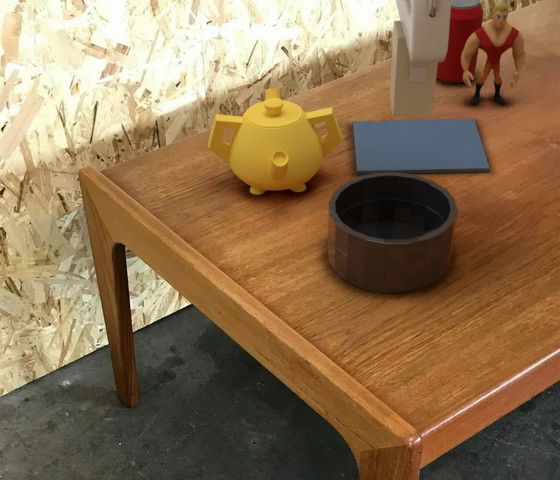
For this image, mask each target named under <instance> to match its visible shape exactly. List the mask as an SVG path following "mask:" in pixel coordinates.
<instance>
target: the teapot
mask: <svg viewBox="0 0 560 480" xmlns="http://www.w3.org/2000/svg"><path fill="white" fill-rule="evenodd" d="M320 123H325V127H326V131H327V133H326V134H325V135H323V136H322V137H320V133H319V132H318V130H317V128H316V126H315V125H318V124H320ZM225 129H231V130H233V133H232V135H231V139H230V142H229V143H228V142H227V141H225V140H224V139H223V137H224V133H225ZM342 143H343V134H342V131H341V129H340V126H339V123H338V120H337V117H336V114H335V111H334V109H333V107H327V108H322V109H318V110H312V111H307V112H306V111H304V109H302V107H301V106H300V105H299V104H297V103H294V102H292V101H287V100H283V99H282V98H281V89H279V88H274V87H271V88H266V89H264V100H263V101H260V102H257V103H255V104H252V105H251V106H250V107H248V108H247V110H246V111H245V112H244V113H243V115H242V116H240V115H229V114H228V115H227V114H217V113H216V114H214V118H213V122H212V126H211V130H210V134H209V138H208V142H207V147H208V151H210V152H211V153H213V154H214V155H216V156H217V157H218V158H220V159H222V160H223V161H224V162H226V163H227V164H228V165H229V167H230V169H231V171H232V173H233V174H234V175H235V176H236V177H237V178H238V179H240V180H241V181H242V182H244V184H246V185H248V186H250V188H249V192H250V193H251V194H253V195H256V196H257V195H262V194H265V193H266V192H267V191H284V190H290V191H291V192H294V193H301V192H304V191H306V189H307V185H306V184H305V183H307V182H308V181H310V179H312V177H313V176H315V175H316V174H317V173H318V172H319V170H320V169H321V168H322V165H323V162H324V159H325V157H327V156H328V155H329V154H330V153H331V152H332V151H333V150H334V149H335V148H337V147H338V146H340V145H341V144H342Z"/></svg>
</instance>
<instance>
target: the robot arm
mask: <svg viewBox="0 0 560 480" xmlns="http://www.w3.org/2000/svg"><path fill="white" fill-rule="evenodd" d="M395 4H396V7H397V11H398V15H399V21H401V24H402V29H403V33H404V37H405V41H406V45H407V49H408V53H409V58H410V62H409V79H410V82H412V83H423V82H424V81H425V80H426V76H427V67H428V64H429V63H439V62H443V61H444V59H445V57H446V54H447V49H448V38H449V25H450V11H451V0H395Z"/></svg>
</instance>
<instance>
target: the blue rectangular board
mask: <svg viewBox="0 0 560 480" xmlns="http://www.w3.org/2000/svg"><path fill="white" fill-rule="evenodd" d="M352 133H353V144H354V156H355V158H354V159H355V169H356V175H369V174H374V173H391V172H399V173H406V174H449V173H450V174H451V173H490V165H489V162H488V158H487V155H486V153H485V149H484V146H483V143H482V140H481V136H480V133H479V130H478V127H477V123H476V120H475V118H452V119H451V118H448V119H446V118H445V119H406V120H404V119H403V120H402V119H401V120H400V119H399V120H364V121H363V120H362V121H361V120H359V121H358V120H357V121H352Z"/></svg>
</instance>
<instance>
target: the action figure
mask: <svg viewBox="0 0 560 480" xmlns="http://www.w3.org/2000/svg"><path fill="white" fill-rule="evenodd" d="M508 15H509V5H508V4H507V3H505V2H503V1H500V2H497V3H496V4H495V5H494V8H493V11H491V18H492V20H490V21H489V22H488V23H487V24H485V25H484V26H482V28H480V29H478V30H476V31H475V32H474V33H472V34H471V36H470V37H469V38H468V40H467V42H466V44H465V47H464V50H463V52H462V56H461V64H462V67H463V70H464V73H463V81H464V82H463V83H464V85H466V86H467V87H468V88H469V89H470V88H472V87H473V85H472V83H471V80H472V81H474V80H475V77H474V75H472V74H471V73H470V72H469V71H468V68H469V65H470V62H471V59H472V56H473V55H474V52H475V51H476V50H477V49H478V48H479V49H478V50H481V51H483V52H484V53H485V54H486V61H485V64H484V69H483V72H482V76H480V77H478V79H477V81H476V83H475V92H474V94H473V96H472V98H470V102H469V103H470V105H471V106H475V105H477V104H478V101H479V99H480V97H481V90H482V88H483V87H484V85H485V83H486V80H487V79H488V77H489V75H490V73H491V71H493V76H494V79H493V86H494V93H493V95H492V97H493V99H495V100H496V101H497V102H498V104H499V105H502V106H503V105H505V104H506V100H505V99H504V98H503V97H502V95H501V94H500V92H501V87H502V85H503V80H502V78H501V76H500V71H501V69H500V68H501V67H500V66H501V57H502V56H503V54H504V53H505V52H507V51H508V50H509V49H511V51H512V55H511V56H512V59H513V64H514V67H515V70H514V72H513V73H512V75H511V77H510V80H512V82H510V85H509V86H510V88H514V86H515V85H516V84H517V82H518V81H519V80H520V76H521V70H522V68H523V66H524V64H525V60H526V49H525V46H526V45H525V44H526V43H525V37H524V35H523V34H522V33H521V32H520V30H519V29H518V28H515V27H514V26H512V25H511V24H509V22H508V21H507V20H508Z"/></svg>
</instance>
